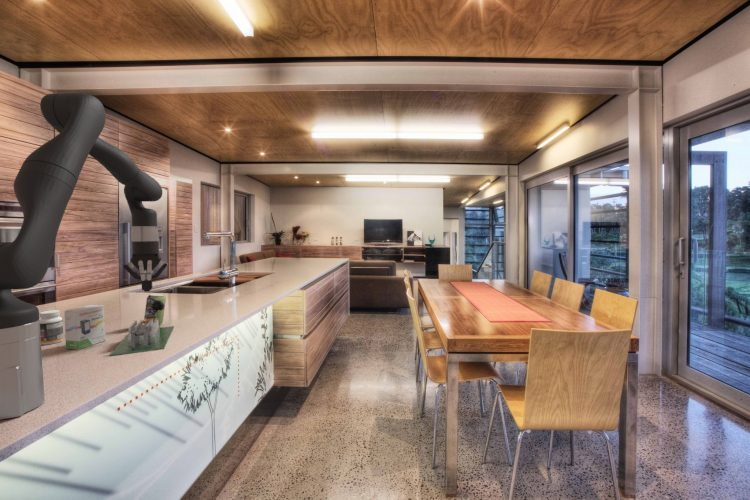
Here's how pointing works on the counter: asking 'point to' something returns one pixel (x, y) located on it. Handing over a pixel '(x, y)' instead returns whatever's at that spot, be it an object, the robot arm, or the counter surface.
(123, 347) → the heatsink board
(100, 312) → the ink box
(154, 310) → the beverage can
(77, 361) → the counter surface
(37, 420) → the counter surface
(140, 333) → the grey and orange bar
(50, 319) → the pill bottle
